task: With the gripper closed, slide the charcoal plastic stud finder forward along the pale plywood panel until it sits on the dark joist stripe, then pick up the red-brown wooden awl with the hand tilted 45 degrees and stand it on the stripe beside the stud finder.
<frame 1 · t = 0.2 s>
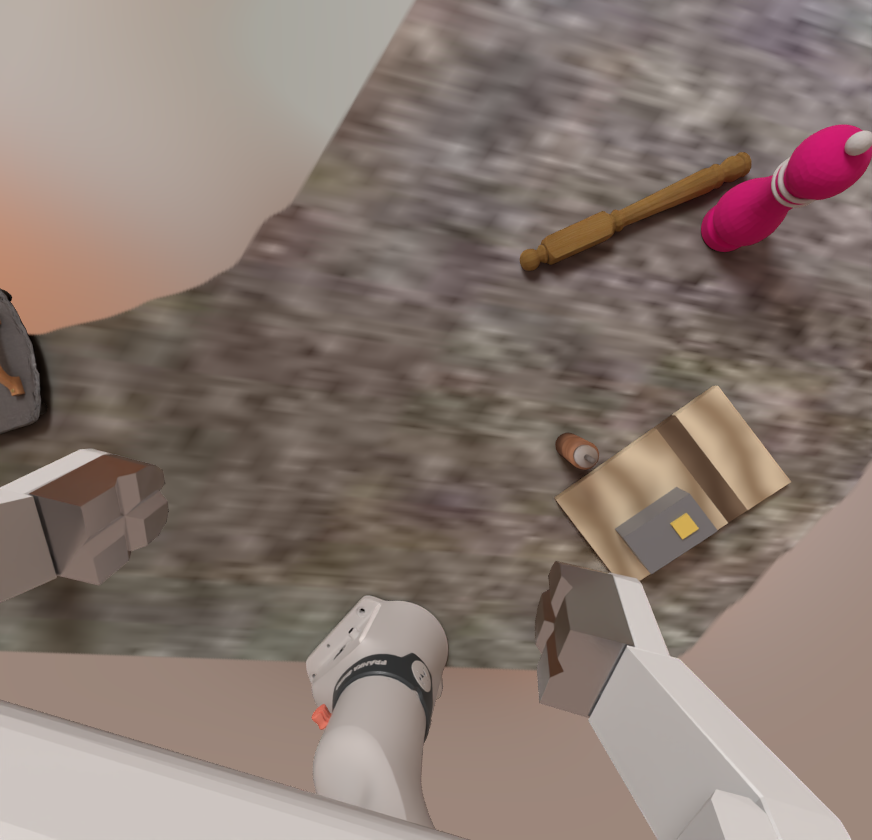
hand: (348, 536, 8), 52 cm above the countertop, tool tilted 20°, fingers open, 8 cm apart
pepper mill: (724, 228, 55), on the countertop
subfloor panel: (666, 489, 58), on the countertop
tap handle: (624, 220, 56), on the countertop
stud finder: (658, 525, 57), point 1 cm above the countertop, touching subfloor panel
awl: (567, 444, 59), on the countertop
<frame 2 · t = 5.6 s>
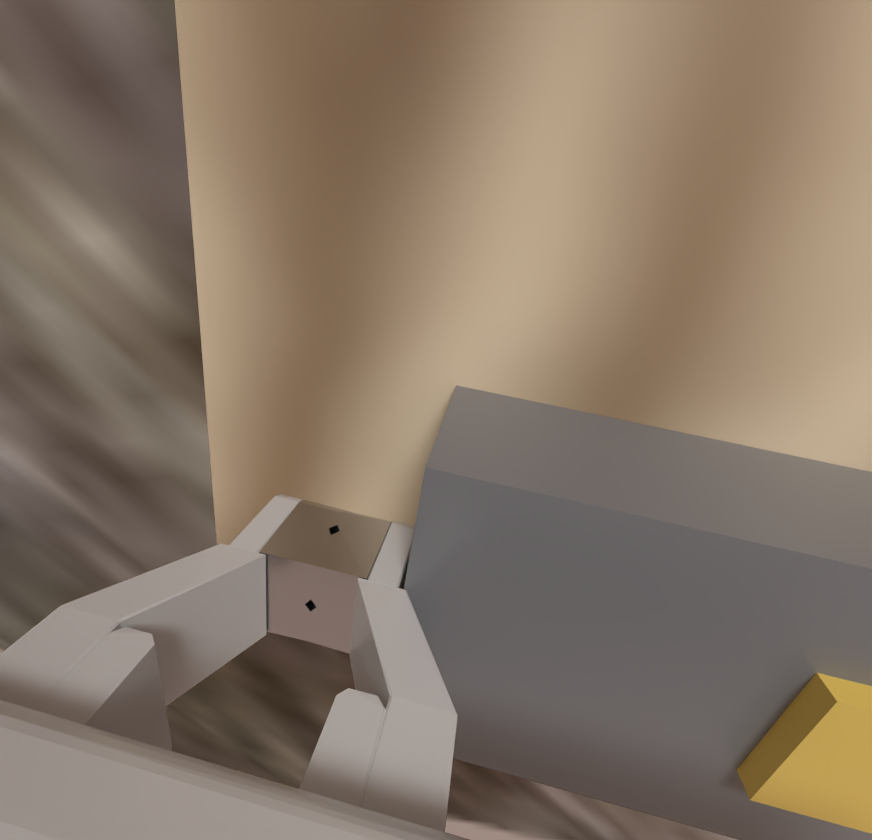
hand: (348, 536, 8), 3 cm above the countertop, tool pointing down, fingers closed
subfloor panel: (787, 435, 9), on the countertop
stud finder: (647, 553, 9), point 1 cm above the countertop, touching gripper, subfloor panel
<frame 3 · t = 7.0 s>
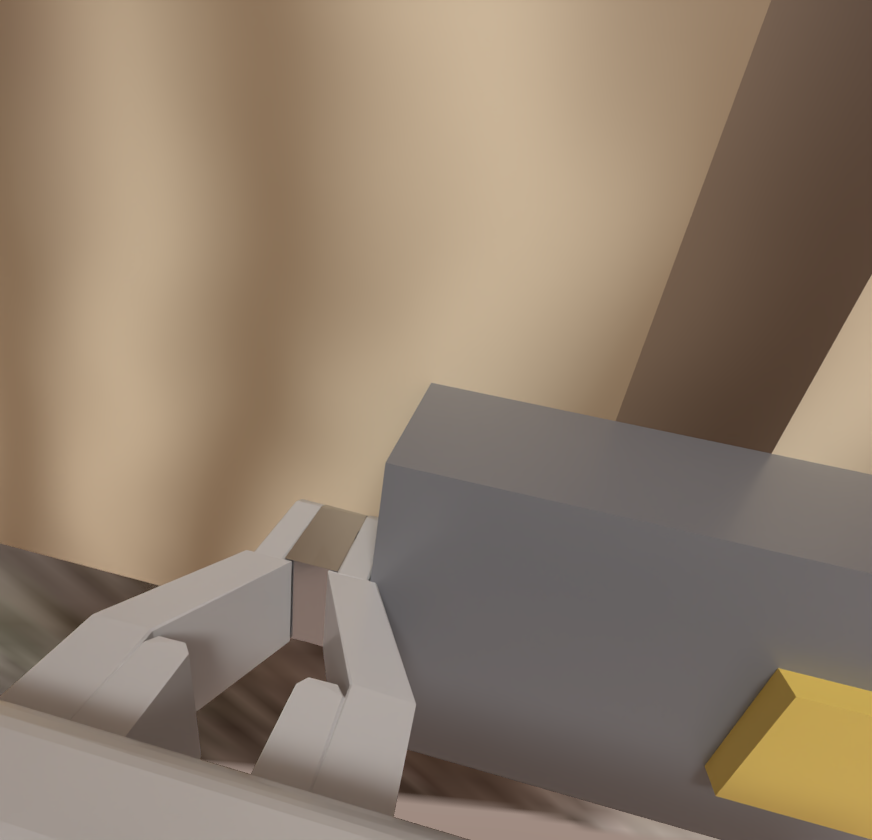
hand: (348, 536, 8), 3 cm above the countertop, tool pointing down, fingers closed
subfloor panel: (451, 372, 10), on the countertop
stud finder: (625, 551, 9), point 1 cm above the countertop, touching gripper, subfloor panel
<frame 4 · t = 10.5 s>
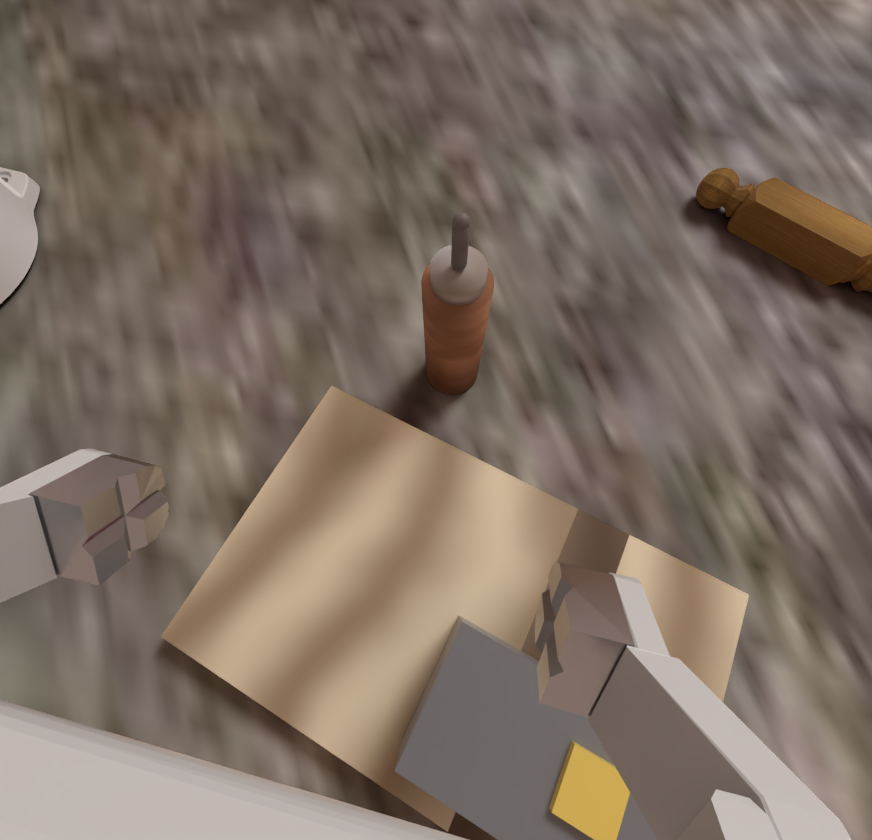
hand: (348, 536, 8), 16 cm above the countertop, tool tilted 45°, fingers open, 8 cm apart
subfloor panel: (457, 613, 23), on the countertop
stud finder: (524, 730, 20), point 1 cm above the countertop, touching subfloor panel
awl: (451, 371, 28), on the countertop
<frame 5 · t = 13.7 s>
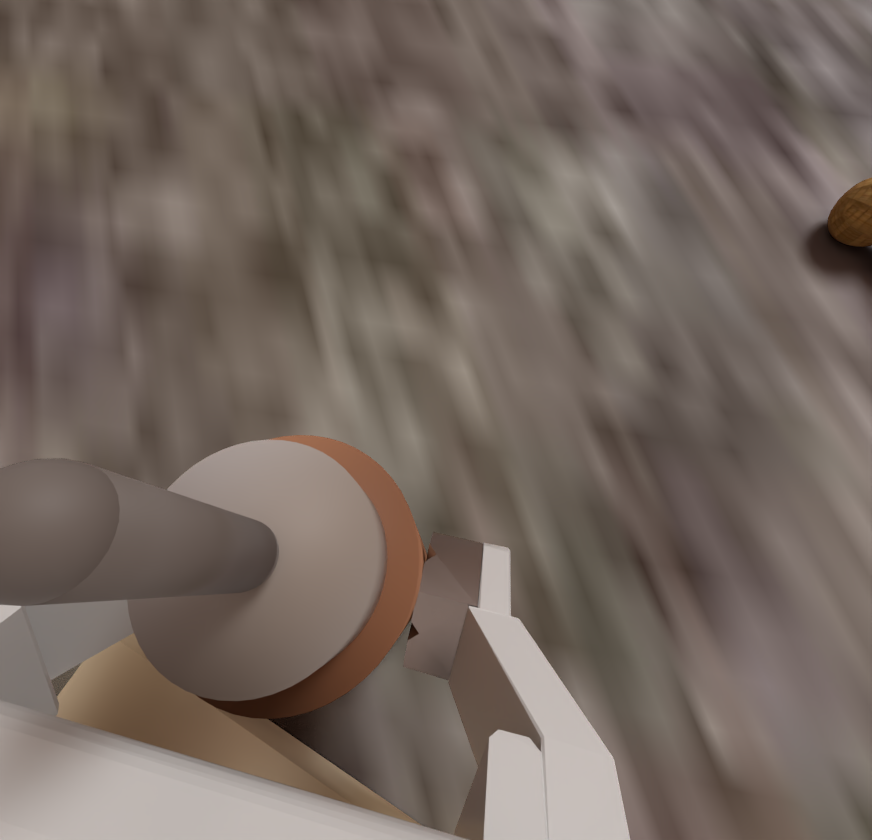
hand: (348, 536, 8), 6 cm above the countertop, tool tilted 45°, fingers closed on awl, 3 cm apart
awl: (378, 573, 14), on the countertop, touching gripper
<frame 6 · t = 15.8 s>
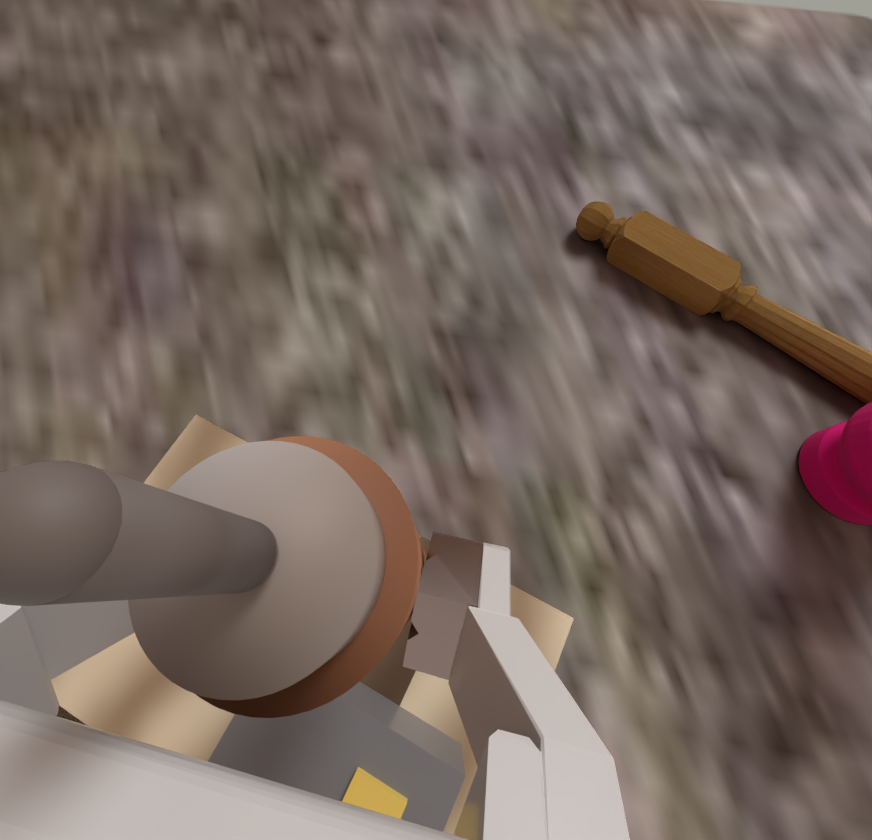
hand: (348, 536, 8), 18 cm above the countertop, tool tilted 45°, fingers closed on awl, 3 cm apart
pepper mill: (844, 476, 27), on the countertop
subfloor panel: (300, 638, 24), on the countertop
tap handle: (744, 329, 31), on the countertop
stud finder: (344, 752, 21), point 1 cm above the countertop, touching subfloor panel
awl: (377, 573, 14), point 12 cm above the countertop, touching gripper
when the fingers open (9 cm above the countertop, at t = 18.0 s): awl drops 1 cm, resting on subfloor panel.
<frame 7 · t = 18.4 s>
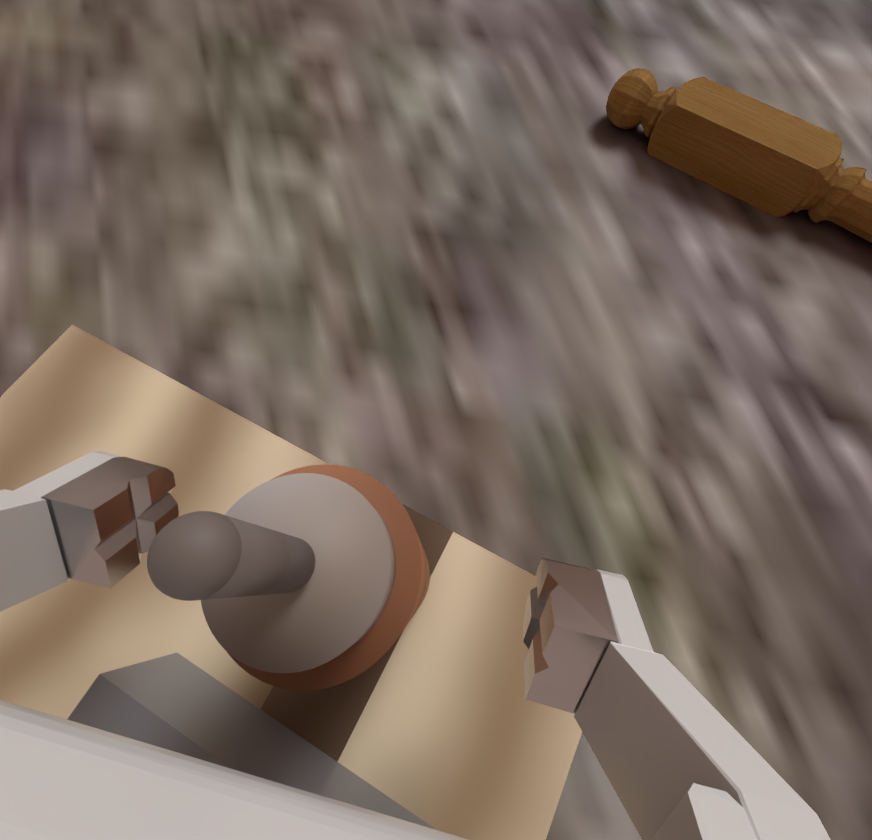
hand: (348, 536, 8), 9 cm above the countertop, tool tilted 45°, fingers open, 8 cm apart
subfloor panel: (195, 647, 15), on the countertop
tap handle: (838, 236, 23), on the countertop
awl: (383, 574, 15), point 1 cm above the countertop, touching subfloor panel
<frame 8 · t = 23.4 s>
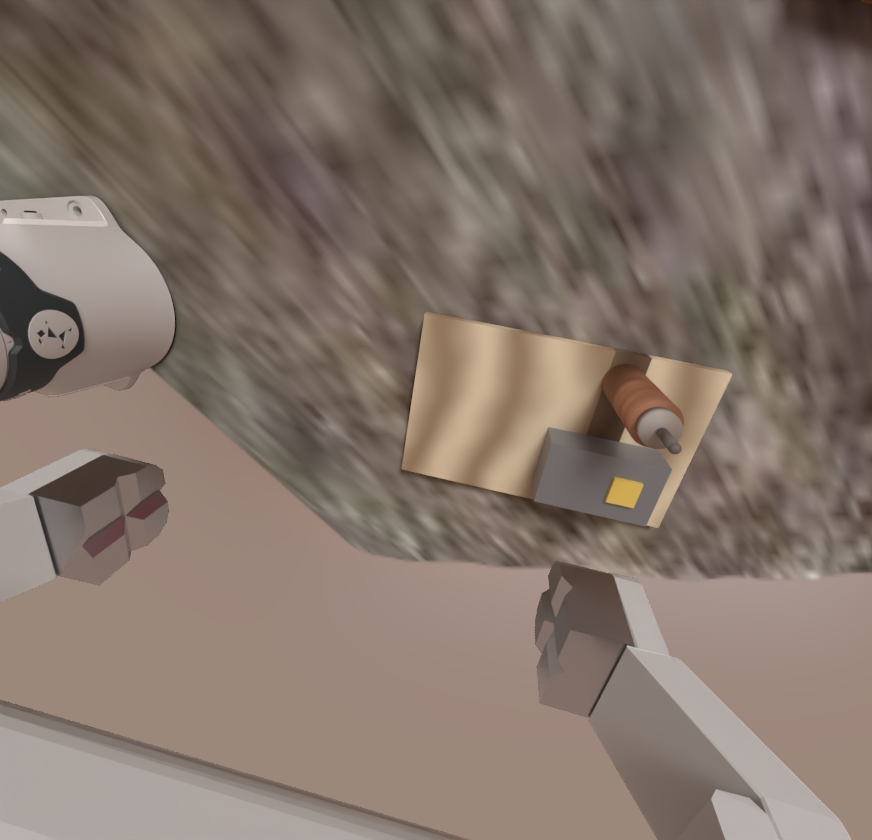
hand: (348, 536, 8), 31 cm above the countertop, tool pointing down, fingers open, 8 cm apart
subfloor panel: (547, 422, 40), on the countertop
stud finder: (592, 466, 39), point 1 cm above the countertop, touching subfloor panel
awl: (622, 383, 36), point 1 cm above the countertop, touching subfloor panel
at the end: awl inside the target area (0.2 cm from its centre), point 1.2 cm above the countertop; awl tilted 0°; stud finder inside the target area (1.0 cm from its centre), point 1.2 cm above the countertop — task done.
